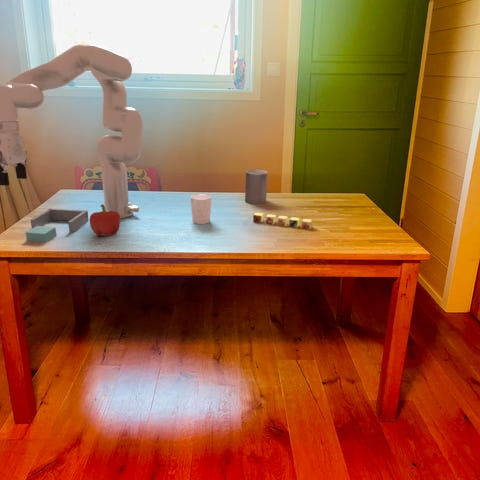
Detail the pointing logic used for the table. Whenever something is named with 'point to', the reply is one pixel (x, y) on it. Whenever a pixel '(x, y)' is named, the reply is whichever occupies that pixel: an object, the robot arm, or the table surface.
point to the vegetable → (105, 222)
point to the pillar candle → (256, 186)
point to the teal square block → (41, 234)
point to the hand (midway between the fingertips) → (13, 181)
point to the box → (62, 218)
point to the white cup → (201, 208)
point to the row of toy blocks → (282, 220)
